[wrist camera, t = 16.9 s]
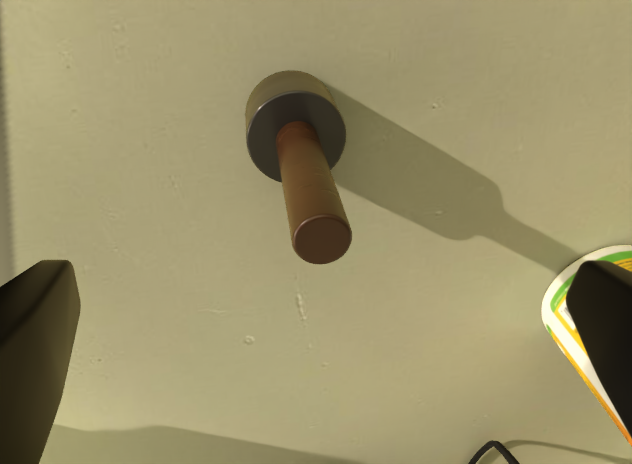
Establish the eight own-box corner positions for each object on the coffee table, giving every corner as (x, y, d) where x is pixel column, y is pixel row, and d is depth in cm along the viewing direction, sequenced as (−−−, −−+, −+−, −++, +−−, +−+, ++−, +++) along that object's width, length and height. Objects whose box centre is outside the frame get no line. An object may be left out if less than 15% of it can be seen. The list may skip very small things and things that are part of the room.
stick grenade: (226, 112, 15) (219, 241, 9) (295, 49, 14) (334, 147, 9) (286, 172, 17) (313, 317, 11) (352, 118, 16) (419, 241, 10)
